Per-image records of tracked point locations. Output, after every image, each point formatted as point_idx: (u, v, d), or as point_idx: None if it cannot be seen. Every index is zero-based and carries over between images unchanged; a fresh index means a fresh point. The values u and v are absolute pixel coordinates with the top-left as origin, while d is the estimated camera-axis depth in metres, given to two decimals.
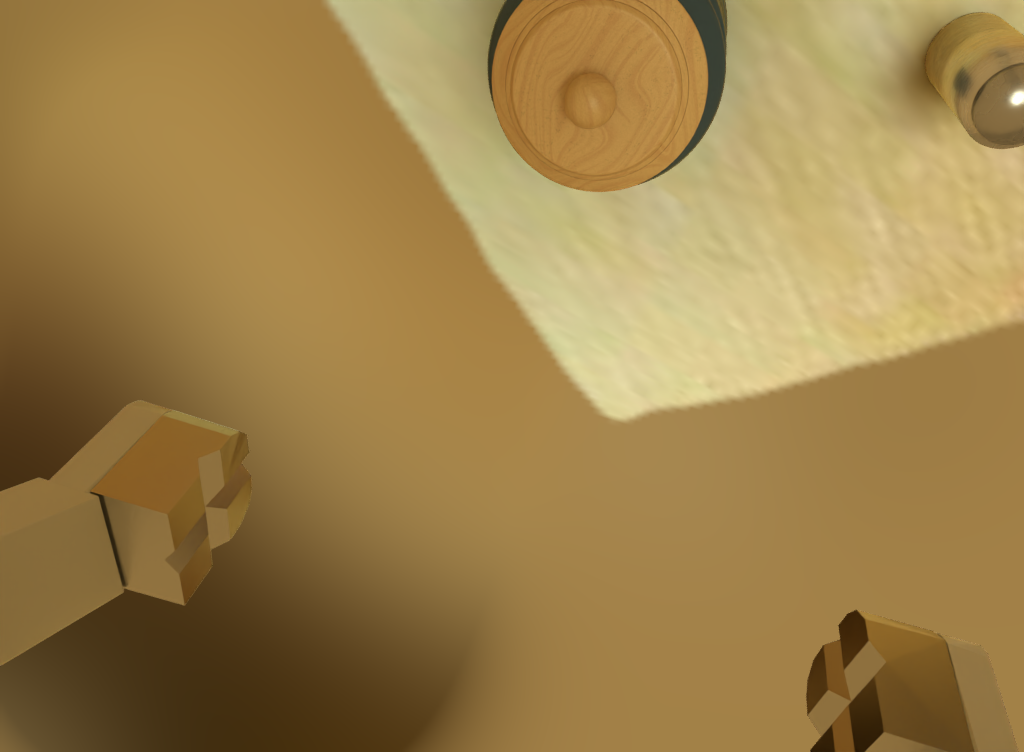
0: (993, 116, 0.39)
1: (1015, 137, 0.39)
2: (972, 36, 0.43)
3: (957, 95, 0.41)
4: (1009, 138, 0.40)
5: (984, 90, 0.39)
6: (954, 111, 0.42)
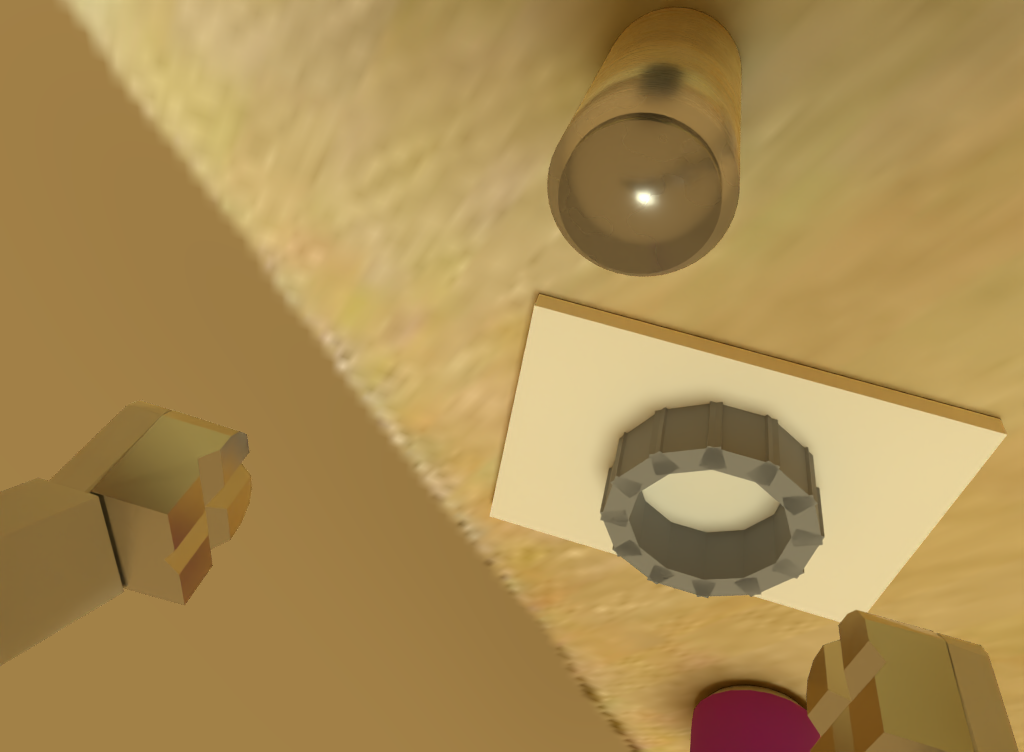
0: (618, 161, 0.18)
1: (574, 210, 0.19)
2: (731, 77, 0.22)
3: (648, 76, 0.19)
4: (572, 201, 0.19)
5: (674, 129, 0.17)
6: (609, 80, 0.20)
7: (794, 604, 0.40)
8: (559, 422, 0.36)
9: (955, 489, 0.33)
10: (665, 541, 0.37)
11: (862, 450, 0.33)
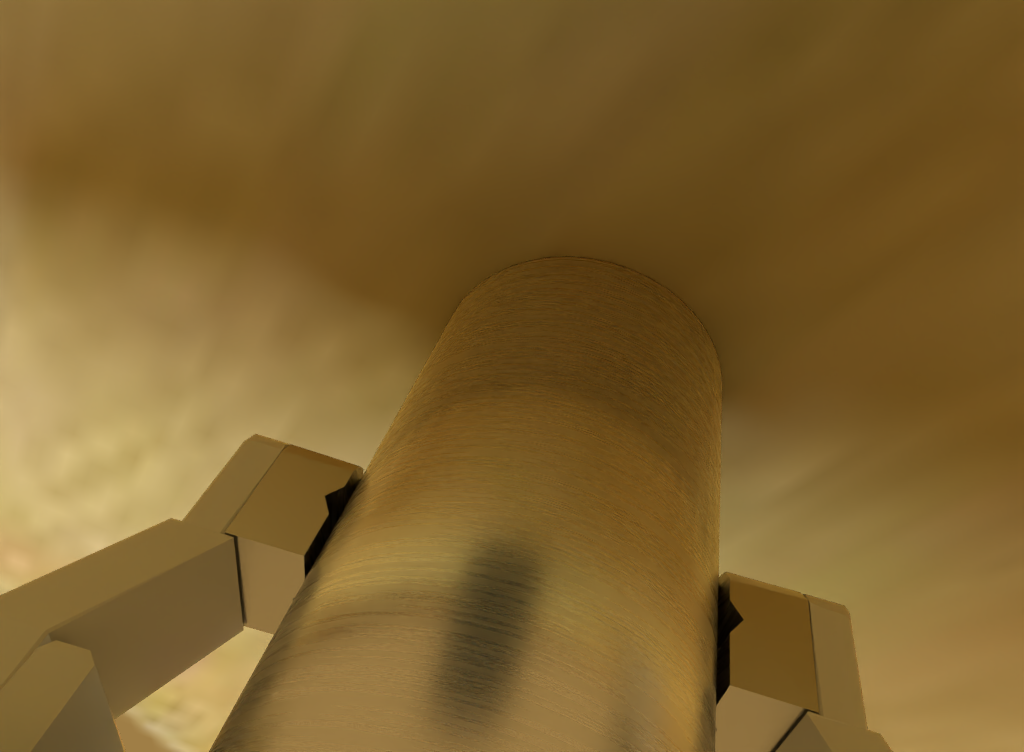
0: None
1: None
2: (692, 541, 0.08)
3: None
4: None
5: None
6: (264, 745, 0.06)
7: None
8: None
9: None
10: None
11: None
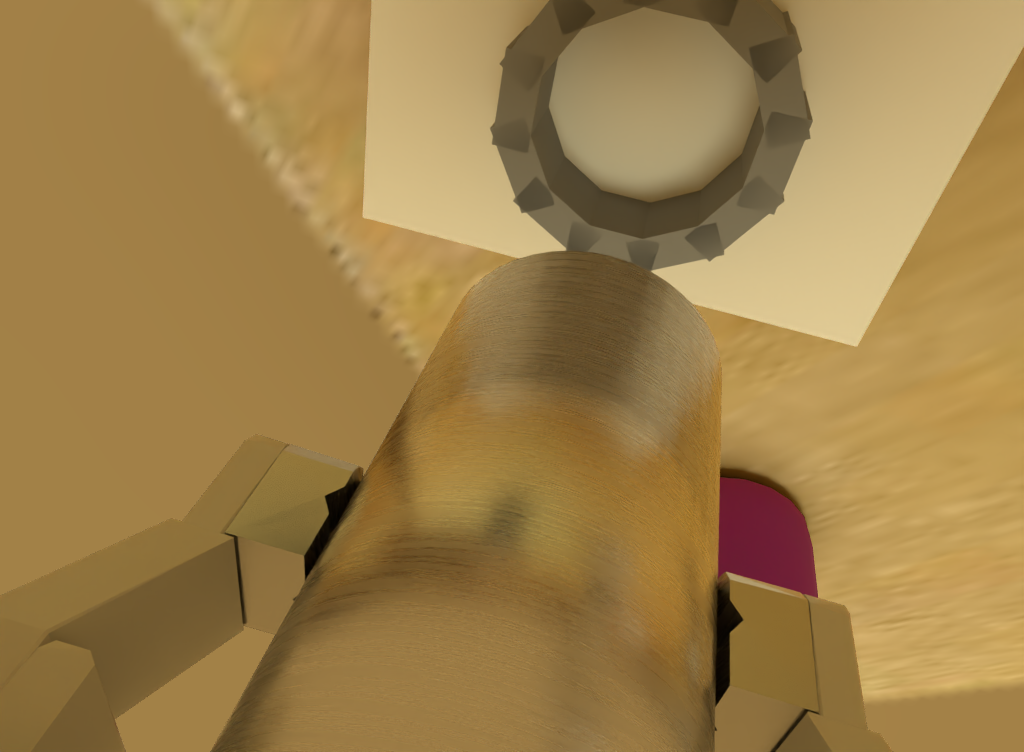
0: None
1: None
2: (692, 526, 0.08)
3: None
4: None
5: None
6: (281, 715, 0.06)
7: (773, 317, 0.29)
8: (437, 21, 0.25)
9: (1003, 61, 0.22)
10: (591, 202, 0.26)
11: (868, 4, 0.22)
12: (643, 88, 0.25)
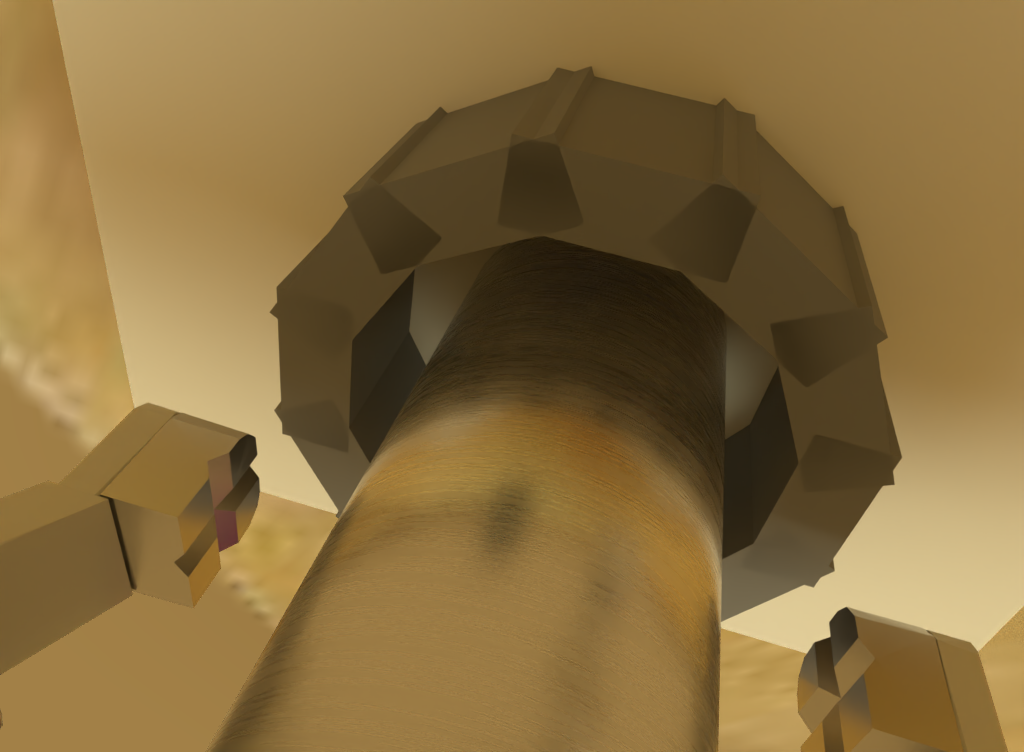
0: None
1: None
2: (700, 453, 0.09)
3: (425, 650, 0.06)
4: None
5: None
6: (341, 590, 0.07)
7: (800, 642, 0.18)
8: (199, 190, 0.14)
9: None
10: None
11: (1009, 202, 0.11)
12: None
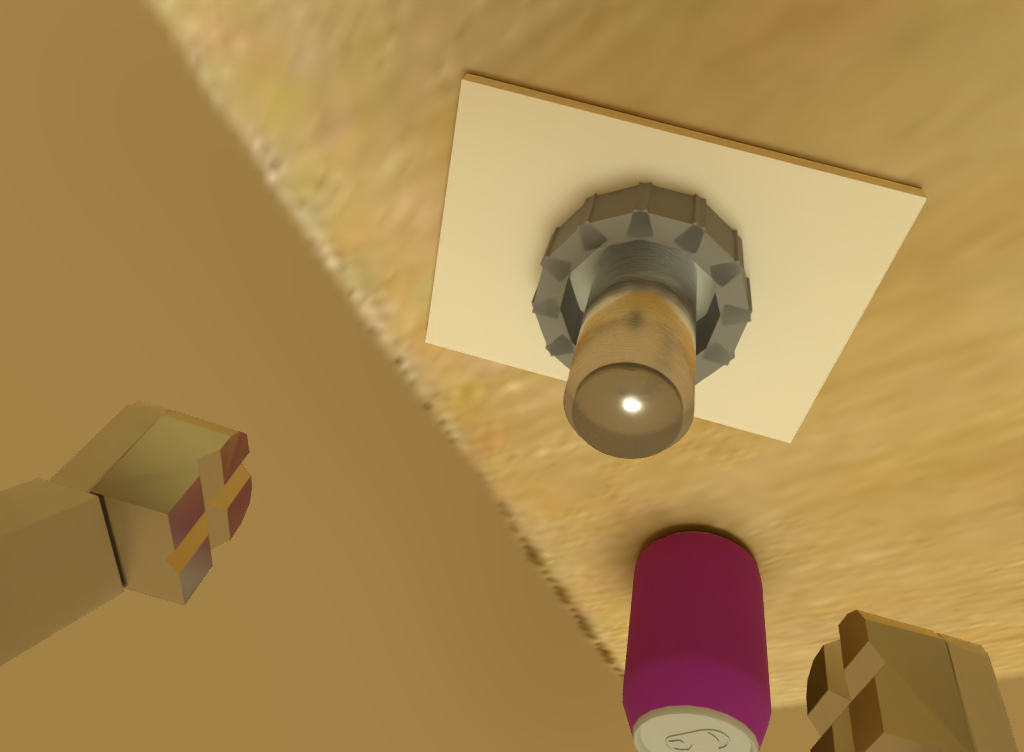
0: (613, 393, 0.27)
1: (582, 419, 0.28)
2: (689, 304, 0.31)
3: (632, 329, 0.28)
4: (581, 413, 0.28)
5: (651, 378, 0.26)
6: (605, 324, 0.29)
7: (730, 421, 0.40)
8: (491, 220, 0.36)
9: (880, 268, 0.33)
10: None
11: (789, 229, 0.33)
12: None
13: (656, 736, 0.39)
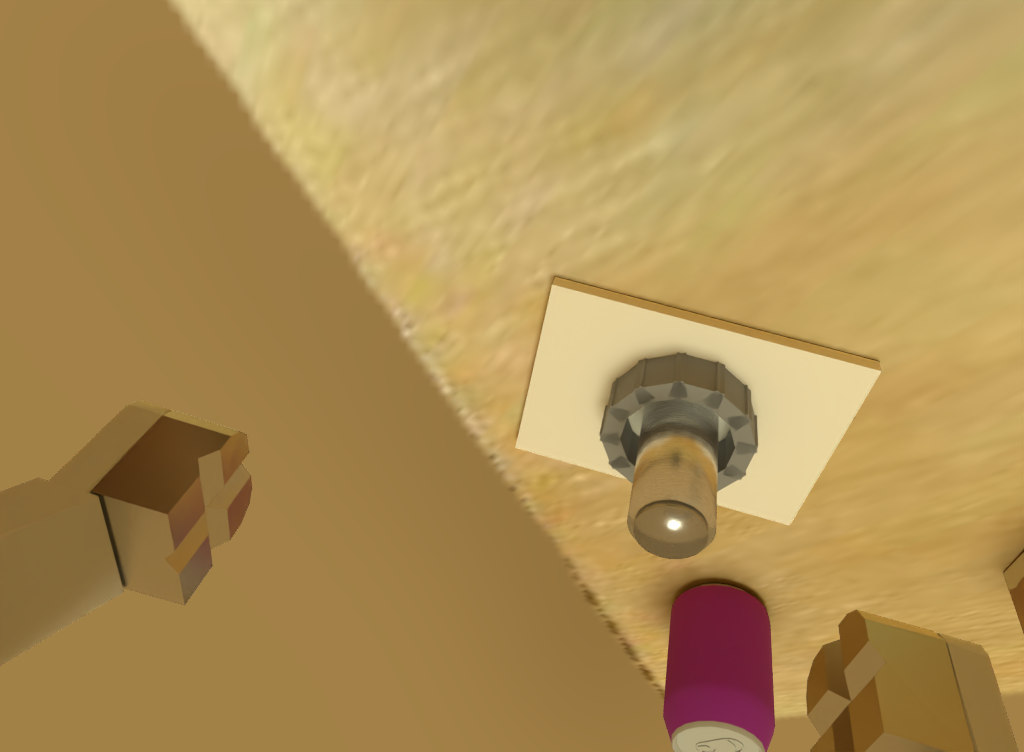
0: (662, 520, 0.41)
1: (640, 533, 0.42)
2: (713, 445, 0.45)
3: (674, 474, 0.42)
4: (639, 530, 0.42)
5: (687, 512, 0.40)
6: (655, 468, 0.42)
7: (744, 509, 0.53)
8: (569, 371, 0.50)
9: (850, 413, 0.47)
10: None
11: (785, 386, 0.46)
12: None
13: (689, 742, 0.53)
